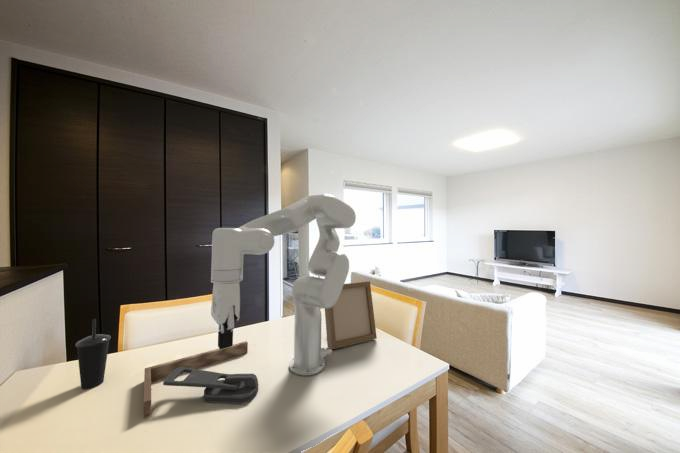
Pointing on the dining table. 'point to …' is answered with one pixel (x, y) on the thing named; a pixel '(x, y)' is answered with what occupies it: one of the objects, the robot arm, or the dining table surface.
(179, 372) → the zipper pull
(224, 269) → the robot arm
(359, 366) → the dining table surface
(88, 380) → the drinking cup
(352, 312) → the photo frame
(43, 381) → the dining table surface
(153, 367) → the wooden l-shaped bracket
